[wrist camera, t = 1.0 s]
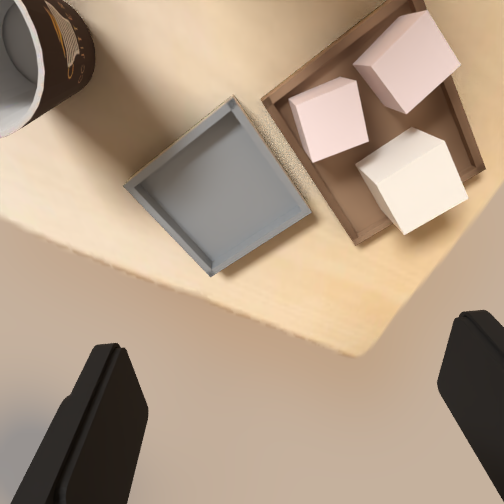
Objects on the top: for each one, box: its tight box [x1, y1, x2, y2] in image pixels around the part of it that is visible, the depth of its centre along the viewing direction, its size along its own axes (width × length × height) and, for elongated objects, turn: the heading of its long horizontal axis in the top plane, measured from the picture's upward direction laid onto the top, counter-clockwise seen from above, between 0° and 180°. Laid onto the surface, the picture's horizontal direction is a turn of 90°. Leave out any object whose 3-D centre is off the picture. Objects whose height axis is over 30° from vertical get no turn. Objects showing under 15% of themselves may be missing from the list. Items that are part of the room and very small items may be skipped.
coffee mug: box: [0, 0, 95, 138], centre depth 19 cm, size 12×9×10 cm
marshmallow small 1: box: [353, 10, 461, 114], centre depth 23 cm, size 4×4×4 cm
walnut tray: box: [261, 0, 486, 246], centre depth 27 cm, size 12×15×2 cm
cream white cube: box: [355, 127, 468, 235], centre depth 27 cm, size 5×5×5 cm
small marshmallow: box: [288, 77, 369, 163], centre depth 25 cm, size 4×4×4 cm
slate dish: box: [123, 95, 312, 277], centre depth 29 cm, size 11×11×2 cm
